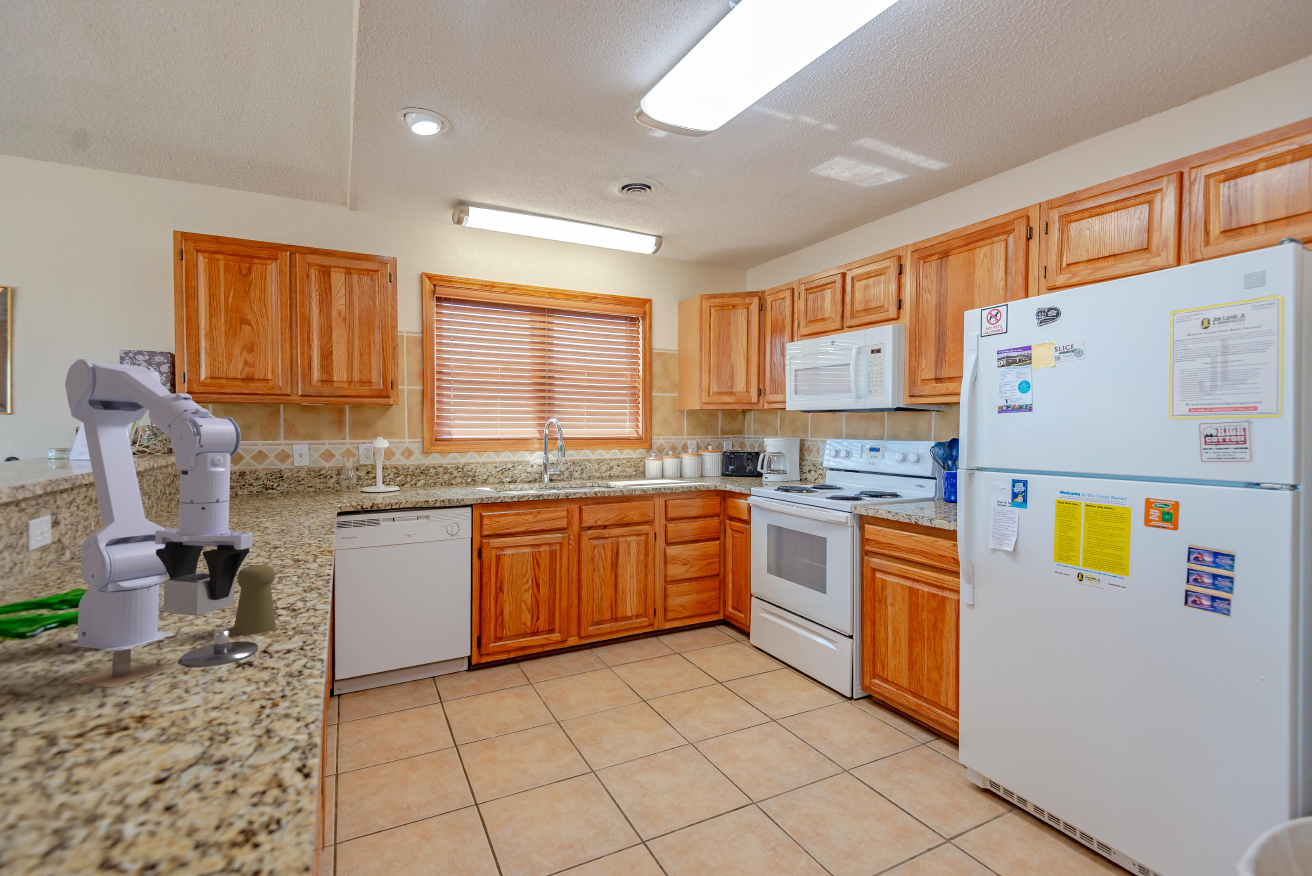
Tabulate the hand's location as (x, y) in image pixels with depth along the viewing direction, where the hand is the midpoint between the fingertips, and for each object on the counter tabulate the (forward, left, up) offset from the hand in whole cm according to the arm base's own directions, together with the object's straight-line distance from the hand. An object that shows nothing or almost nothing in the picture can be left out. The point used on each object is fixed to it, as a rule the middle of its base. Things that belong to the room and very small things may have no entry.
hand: (202, 596), depth 85 cm
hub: (+1, +2, -9) cm, 10 cm away
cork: (-4, +13, -10) cm, 17 cm away
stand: (-5, -7, -9) cm, 13 cm away
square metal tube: (0, 0, -2) cm, 2 cm away
